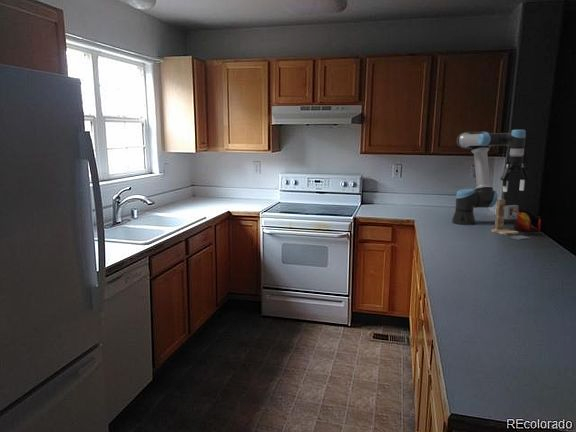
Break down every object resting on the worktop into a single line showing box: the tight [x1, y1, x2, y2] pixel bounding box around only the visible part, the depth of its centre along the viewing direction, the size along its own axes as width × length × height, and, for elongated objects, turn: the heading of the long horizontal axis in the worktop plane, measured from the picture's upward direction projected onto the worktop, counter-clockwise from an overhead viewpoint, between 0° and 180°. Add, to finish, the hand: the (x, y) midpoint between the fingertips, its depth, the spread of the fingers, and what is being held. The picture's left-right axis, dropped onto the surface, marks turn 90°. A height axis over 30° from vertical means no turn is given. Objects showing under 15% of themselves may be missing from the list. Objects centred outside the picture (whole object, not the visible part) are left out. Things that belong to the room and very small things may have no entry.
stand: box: [490, 199, 520, 236], centre depth 267 cm, size 13×10×20 cm
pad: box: [510, 235, 531, 241], centre depth 254 cm, size 6×9×1 cm, turn 111°
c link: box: [504, 204, 520, 220], centre depth 264 cm, size 8×3×8 cm, turn 111°
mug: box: [513, 209, 542, 233], centre depth 275 cm, size 10×14×12 cm
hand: (513, 191), depth 262 cm, fingers open, 13 cm apart
